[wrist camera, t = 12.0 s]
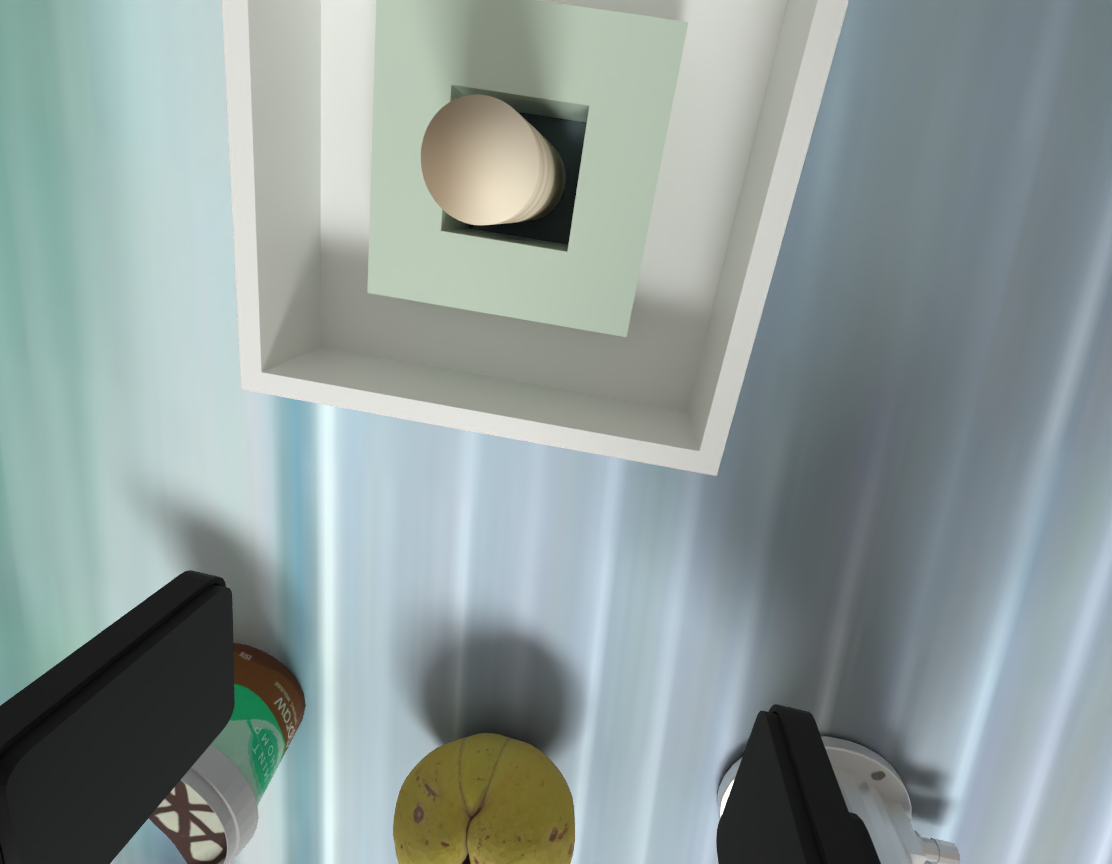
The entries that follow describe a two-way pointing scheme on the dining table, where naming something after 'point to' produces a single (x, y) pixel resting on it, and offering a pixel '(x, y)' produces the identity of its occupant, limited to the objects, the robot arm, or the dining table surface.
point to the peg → (490, 163)
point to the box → (510, 261)
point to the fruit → (484, 806)
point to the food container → (235, 764)
